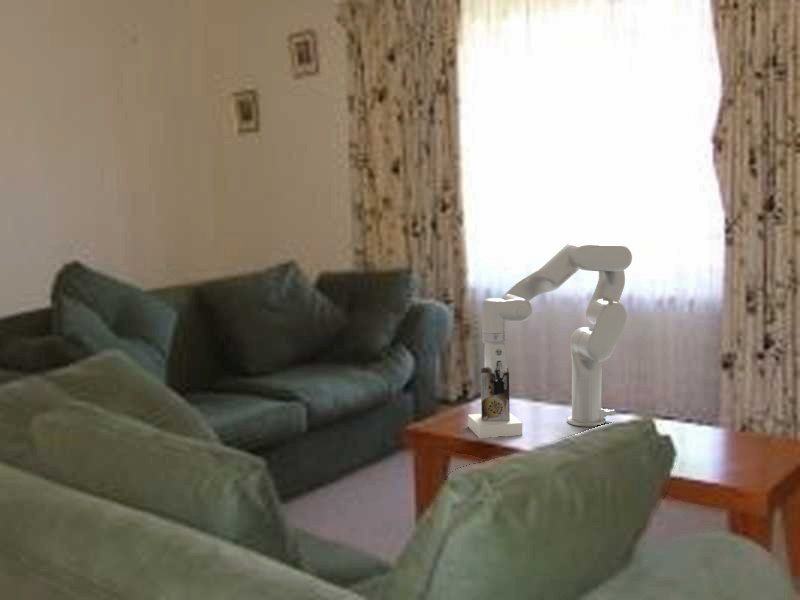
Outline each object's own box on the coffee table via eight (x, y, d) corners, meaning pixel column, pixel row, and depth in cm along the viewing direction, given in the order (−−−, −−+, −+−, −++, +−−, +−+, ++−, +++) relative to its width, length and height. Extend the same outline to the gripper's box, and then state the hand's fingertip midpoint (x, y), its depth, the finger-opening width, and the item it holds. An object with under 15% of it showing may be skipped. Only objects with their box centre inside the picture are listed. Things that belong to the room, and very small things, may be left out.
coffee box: (509, 415, 313) (509, 367, 311) (509, 421, 307) (510, 372, 304) (480, 415, 314) (480, 367, 311) (481, 421, 308) (481, 371, 305)
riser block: (509, 423, 319) (509, 411, 318) (522, 435, 305) (522, 422, 305) (468, 426, 316) (468, 414, 316) (479, 438, 303) (479, 426, 302)
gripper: (513, 341, 299) (513, 395, 301) (497, 331, 315) (498, 382, 318) (490, 342, 297) (490, 396, 300) (475, 333, 314) (476, 384, 317)
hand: (494, 389), depth 309 cm, fingers open, 9 cm apart
